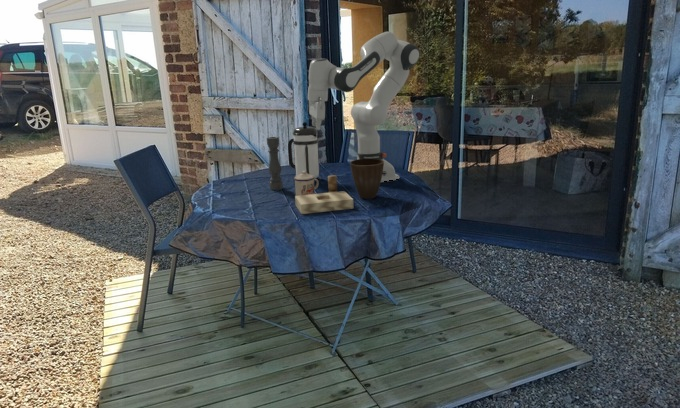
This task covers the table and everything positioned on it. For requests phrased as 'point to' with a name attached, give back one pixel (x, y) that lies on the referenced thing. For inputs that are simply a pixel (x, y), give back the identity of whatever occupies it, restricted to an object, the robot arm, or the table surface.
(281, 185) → the candle holder
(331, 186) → the peg
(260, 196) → the table surface
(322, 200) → the block
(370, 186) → the plant pot
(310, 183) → the teacup with lid
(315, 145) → the coffee press
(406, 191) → the table surface
